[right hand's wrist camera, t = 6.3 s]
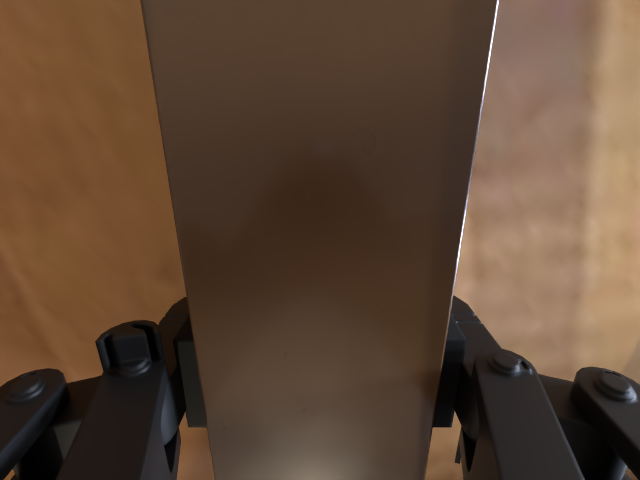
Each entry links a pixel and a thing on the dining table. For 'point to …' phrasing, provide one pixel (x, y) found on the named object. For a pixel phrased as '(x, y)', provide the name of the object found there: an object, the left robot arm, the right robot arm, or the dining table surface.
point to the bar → (319, 218)
